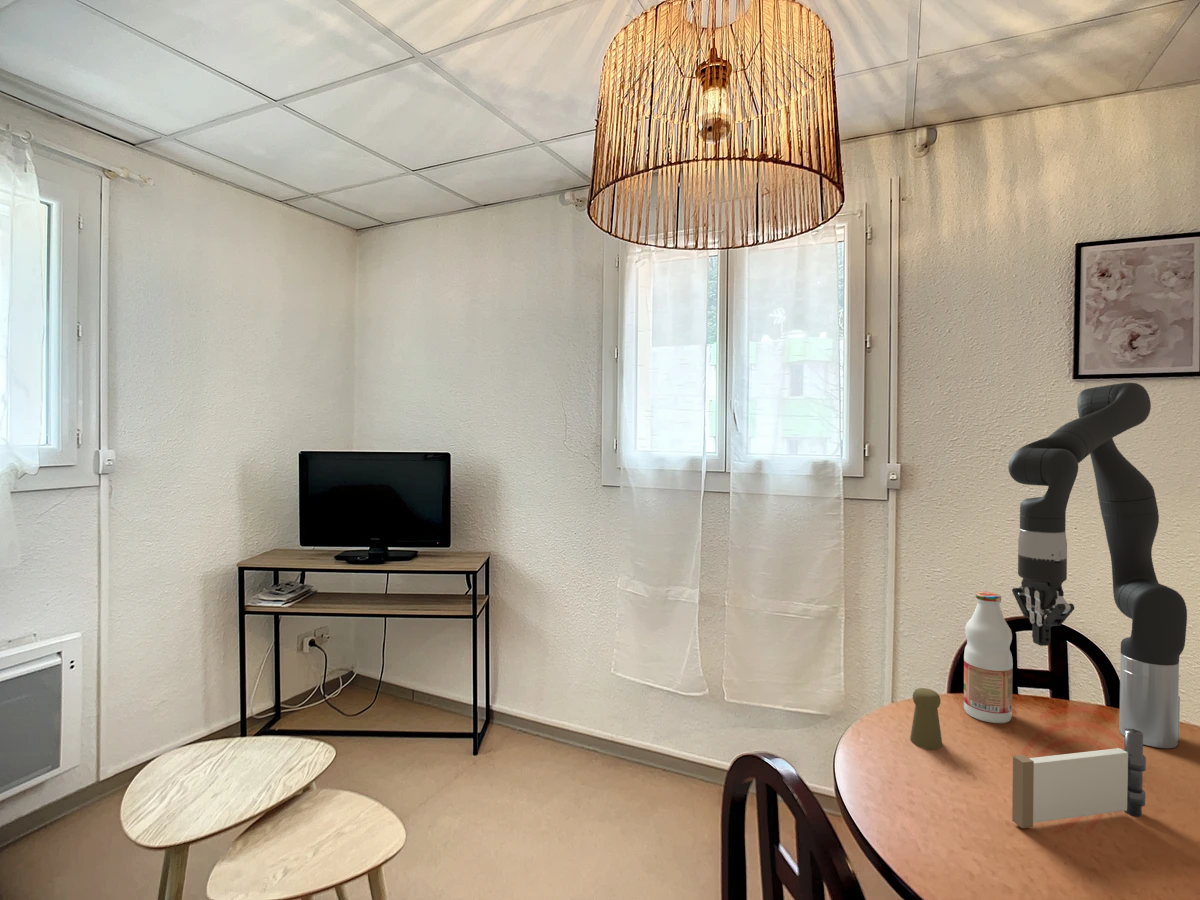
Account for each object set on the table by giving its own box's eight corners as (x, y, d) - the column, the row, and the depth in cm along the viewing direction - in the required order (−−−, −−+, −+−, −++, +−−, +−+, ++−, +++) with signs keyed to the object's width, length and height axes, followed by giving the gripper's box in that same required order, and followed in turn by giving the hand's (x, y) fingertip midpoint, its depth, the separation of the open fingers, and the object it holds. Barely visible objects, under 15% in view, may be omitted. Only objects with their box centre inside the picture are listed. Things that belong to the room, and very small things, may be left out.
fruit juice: (981, 725, 136) (982, 600, 136) (954, 706, 146) (955, 589, 145) (1022, 723, 137) (1023, 599, 136) (992, 704, 146) (993, 588, 146)
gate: (1116, 807, 106) (1117, 744, 106) (1128, 814, 104) (1129, 750, 104) (1012, 820, 103) (1012, 756, 102) (1022, 828, 101) (1023, 762, 100)
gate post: (1128, 804, 107) (1129, 726, 107) (1149, 815, 104) (1151, 734, 104) (1115, 808, 106) (1117, 729, 106) (1136, 819, 103) (1138, 737, 103)
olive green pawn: (946, 750, 126) (947, 697, 126) (914, 748, 127) (915, 695, 127) (936, 736, 132) (937, 685, 132) (906, 733, 133) (906, 683, 133)
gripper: (998, 547, 123) (998, 633, 123) (1050, 561, 109) (1049, 658, 110) (1034, 546, 123) (1033, 632, 124) (1090, 560, 110) (1089, 656, 110)
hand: (1041, 644), depth 117 cm, fingers closed
